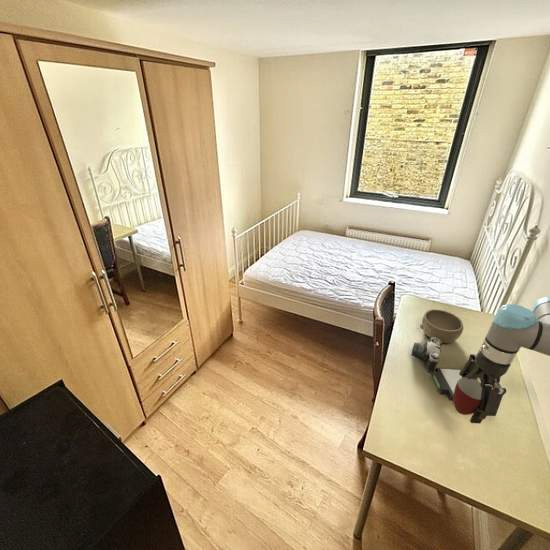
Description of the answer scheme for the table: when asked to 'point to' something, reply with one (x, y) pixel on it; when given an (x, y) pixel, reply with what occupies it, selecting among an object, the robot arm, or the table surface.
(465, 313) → the table surface
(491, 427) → the table surface
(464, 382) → the mug
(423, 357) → the camera
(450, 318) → the bowl
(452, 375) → the scale
